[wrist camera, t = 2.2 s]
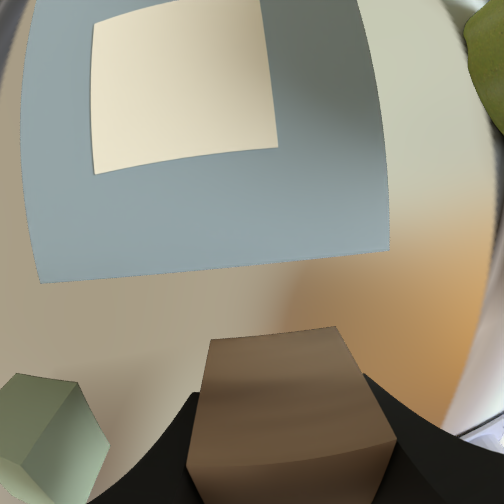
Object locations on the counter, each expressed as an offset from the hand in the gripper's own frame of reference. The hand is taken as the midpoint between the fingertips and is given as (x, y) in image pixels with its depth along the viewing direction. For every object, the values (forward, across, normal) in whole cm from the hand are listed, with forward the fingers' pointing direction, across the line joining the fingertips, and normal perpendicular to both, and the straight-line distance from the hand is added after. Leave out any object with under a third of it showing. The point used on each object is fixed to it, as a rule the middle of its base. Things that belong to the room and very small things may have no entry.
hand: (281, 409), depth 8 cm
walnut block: (+1, 0, 0) cm, 1 cm away
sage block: (+2, +10, +2) cm, 10 cm away
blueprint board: (+1, +2, -10) cm, 10 cm away
